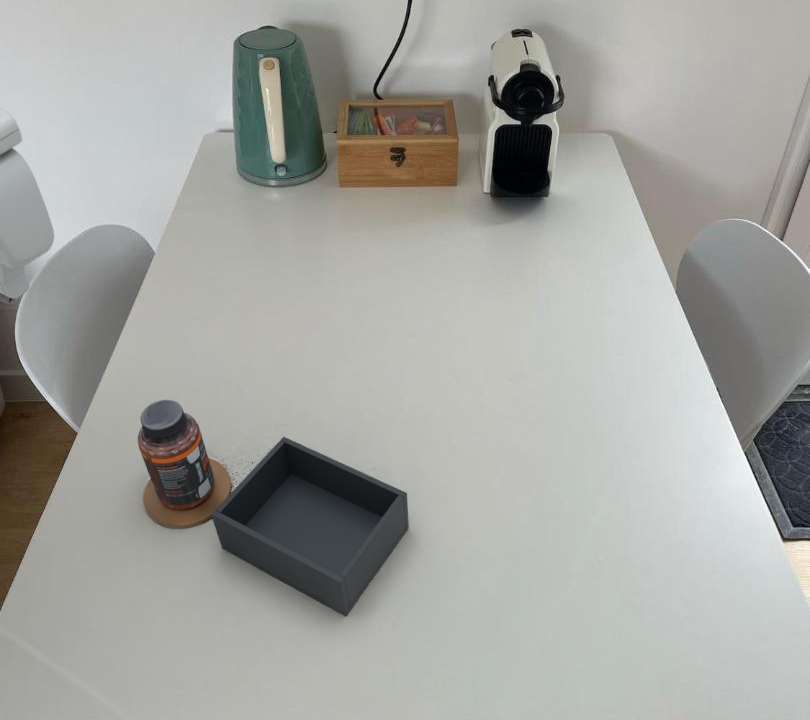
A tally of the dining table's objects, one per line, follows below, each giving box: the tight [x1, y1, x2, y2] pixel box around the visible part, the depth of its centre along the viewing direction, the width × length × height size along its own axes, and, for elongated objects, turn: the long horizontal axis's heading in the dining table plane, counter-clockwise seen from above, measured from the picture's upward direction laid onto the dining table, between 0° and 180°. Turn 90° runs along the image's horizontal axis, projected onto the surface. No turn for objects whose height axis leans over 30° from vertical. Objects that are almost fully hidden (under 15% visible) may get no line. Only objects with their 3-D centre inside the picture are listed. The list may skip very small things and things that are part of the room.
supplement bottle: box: [137, 399, 214, 509], centre depth 80 cm, size 6×6×11 cm
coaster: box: [142, 457, 233, 529], centre depth 85 cm, size 9×9×1 cm
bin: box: [211, 436, 410, 617], centre depth 78 cm, size 11×15×6 cm
